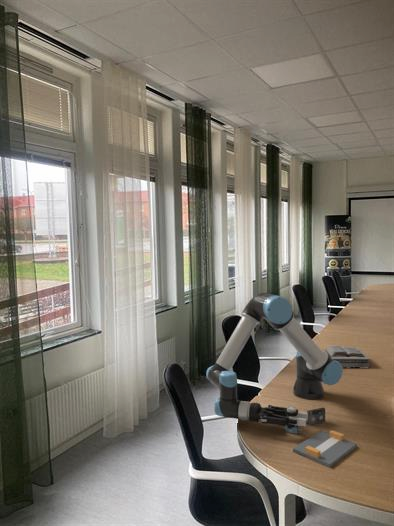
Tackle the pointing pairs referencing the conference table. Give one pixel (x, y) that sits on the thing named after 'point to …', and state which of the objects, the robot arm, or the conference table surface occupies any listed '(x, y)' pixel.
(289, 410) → the push button
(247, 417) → the robot arm
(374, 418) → the conference table surface
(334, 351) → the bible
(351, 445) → the mounting panel
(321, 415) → the mini dv tape
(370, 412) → the conference table surface
